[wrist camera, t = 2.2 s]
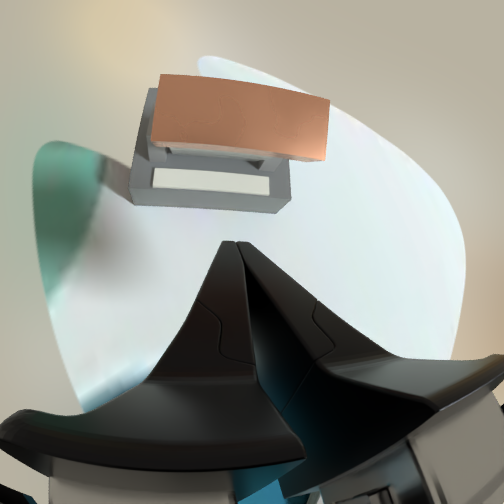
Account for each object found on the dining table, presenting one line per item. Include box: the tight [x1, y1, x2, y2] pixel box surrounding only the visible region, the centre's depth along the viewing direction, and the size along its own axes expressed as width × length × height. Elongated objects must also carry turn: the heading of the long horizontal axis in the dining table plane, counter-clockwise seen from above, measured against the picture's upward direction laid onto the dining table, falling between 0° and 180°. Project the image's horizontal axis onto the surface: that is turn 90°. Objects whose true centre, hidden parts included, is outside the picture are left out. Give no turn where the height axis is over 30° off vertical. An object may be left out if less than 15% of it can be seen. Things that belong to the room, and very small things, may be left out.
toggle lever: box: [151, 74, 330, 162], centre depth 12 cm, size 2×6×9 cm, turn 90°
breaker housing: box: [128, 88, 291, 214], centre depth 17 cm, size 8×10×6 cm
